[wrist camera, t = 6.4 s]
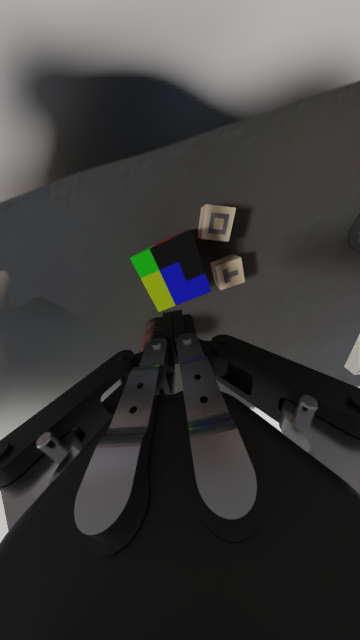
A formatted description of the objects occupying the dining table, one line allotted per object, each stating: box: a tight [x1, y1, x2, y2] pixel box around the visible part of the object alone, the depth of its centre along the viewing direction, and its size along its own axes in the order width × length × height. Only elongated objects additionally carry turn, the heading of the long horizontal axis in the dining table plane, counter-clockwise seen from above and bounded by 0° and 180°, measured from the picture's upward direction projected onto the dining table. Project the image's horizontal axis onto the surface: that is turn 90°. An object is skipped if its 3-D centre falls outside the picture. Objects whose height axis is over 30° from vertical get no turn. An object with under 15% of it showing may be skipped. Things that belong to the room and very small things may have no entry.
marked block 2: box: [210, 254, 245, 290], centre depth 33 cm, size 5×5×5 cm
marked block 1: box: [197, 204, 236, 242], centre depth 29 cm, size 5×5×5 cm
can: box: [139, 319, 159, 352], centre depth 36 cm, size 6×6×14 cm
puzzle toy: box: [130, 230, 211, 312], centre depth 30 cm, size 10×10×10 cm
